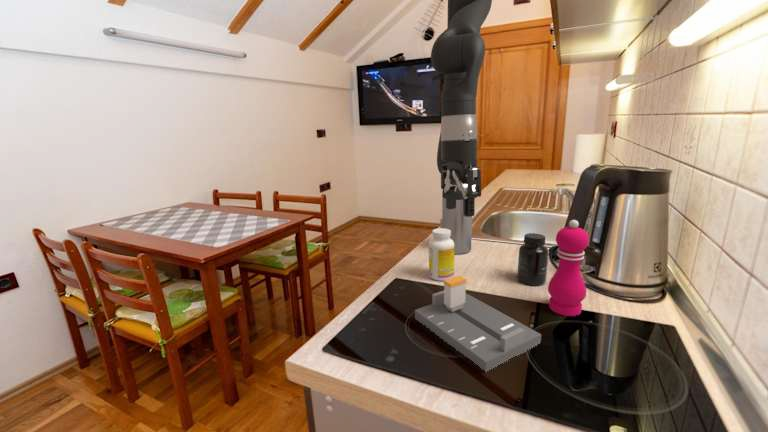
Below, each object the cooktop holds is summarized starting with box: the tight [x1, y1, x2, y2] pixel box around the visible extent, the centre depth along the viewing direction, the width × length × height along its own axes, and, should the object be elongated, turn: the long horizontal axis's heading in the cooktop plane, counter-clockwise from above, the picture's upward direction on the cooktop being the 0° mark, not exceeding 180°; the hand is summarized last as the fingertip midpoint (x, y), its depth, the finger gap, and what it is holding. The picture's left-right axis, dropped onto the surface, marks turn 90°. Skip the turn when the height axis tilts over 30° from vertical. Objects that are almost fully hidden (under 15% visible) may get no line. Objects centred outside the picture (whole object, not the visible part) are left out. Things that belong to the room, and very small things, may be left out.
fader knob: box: [443, 275, 467, 312], centre depth 73 cm, size 2×4×6 cm, turn 121°
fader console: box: [414, 289, 542, 373], centre depth 69 cm, size 20×14×4 cm
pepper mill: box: [547, 219, 590, 317], centre depth 74 cm, size 7×7×20 cm
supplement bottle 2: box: [516, 232, 549, 287], centre depth 89 cm, size 7×7×12 cm
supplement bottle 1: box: [428, 227, 455, 282], centre depth 93 cm, size 7×7×13 cm
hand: (459, 212), depth 78 cm, fingers open, 8 cm apart
